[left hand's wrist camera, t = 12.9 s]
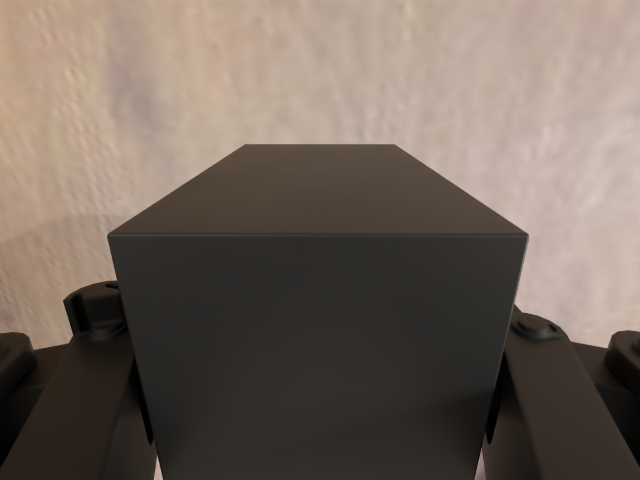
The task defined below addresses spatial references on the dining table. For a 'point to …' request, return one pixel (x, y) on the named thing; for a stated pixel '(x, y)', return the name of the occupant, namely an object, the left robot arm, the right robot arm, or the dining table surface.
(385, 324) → the bar
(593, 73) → the dining table surface
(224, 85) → the dining table surface
